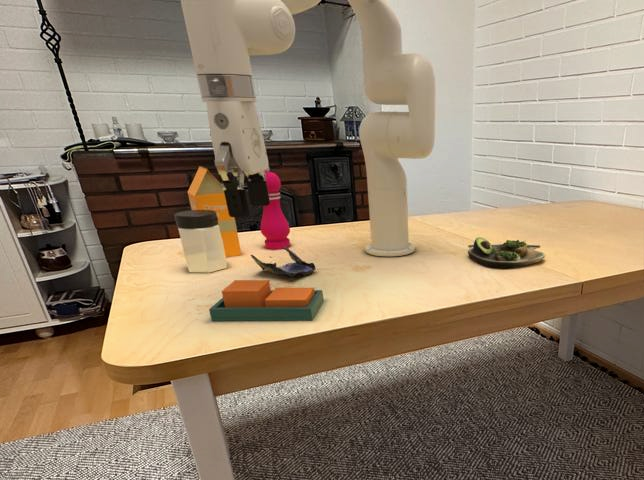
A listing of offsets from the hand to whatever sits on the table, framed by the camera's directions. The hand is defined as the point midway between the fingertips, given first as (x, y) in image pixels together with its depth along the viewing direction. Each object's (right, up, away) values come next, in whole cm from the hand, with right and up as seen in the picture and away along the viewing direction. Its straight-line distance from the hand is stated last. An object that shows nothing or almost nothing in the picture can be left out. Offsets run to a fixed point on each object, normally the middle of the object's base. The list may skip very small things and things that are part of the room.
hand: (251, 210), depth 77 cm
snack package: (-3, -6, +25) cm, 26 cm away
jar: (-22, -4, +29) cm, 36 cm away
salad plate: (+46, 0, +37) cm, 59 cm away
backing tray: (+1, -16, +5) cm, 17 cm away
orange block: (-2, -15, +5) cm, 16 cm away
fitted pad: (+5, -16, +5) cm, 17 cm away
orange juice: (-24, +2, +40) cm, 47 cm away
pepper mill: (-13, +5, +47) cm, 49 cm away
